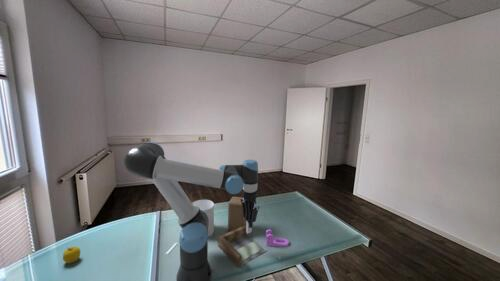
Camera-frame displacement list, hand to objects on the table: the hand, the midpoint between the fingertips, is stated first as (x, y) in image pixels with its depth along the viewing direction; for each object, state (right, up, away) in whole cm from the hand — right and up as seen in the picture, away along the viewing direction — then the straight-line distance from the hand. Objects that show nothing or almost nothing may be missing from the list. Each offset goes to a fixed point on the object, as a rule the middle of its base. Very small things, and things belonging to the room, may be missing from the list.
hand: (249, 231), depth 103 cm
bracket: (+16, -11, +9) cm, 22 cm away
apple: (-86, -11, -9) cm, 87 cm away
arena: (-4, -11, +3) cm, 12 cm away
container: (-29, -9, +18) cm, 35 cm away
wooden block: (-8, -9, +21) cm, 24 cm away
